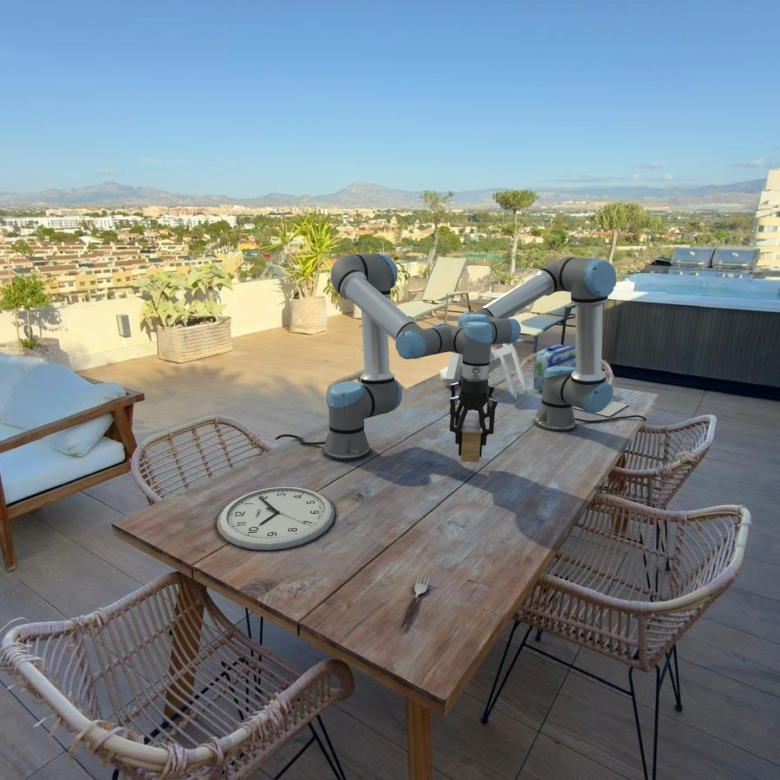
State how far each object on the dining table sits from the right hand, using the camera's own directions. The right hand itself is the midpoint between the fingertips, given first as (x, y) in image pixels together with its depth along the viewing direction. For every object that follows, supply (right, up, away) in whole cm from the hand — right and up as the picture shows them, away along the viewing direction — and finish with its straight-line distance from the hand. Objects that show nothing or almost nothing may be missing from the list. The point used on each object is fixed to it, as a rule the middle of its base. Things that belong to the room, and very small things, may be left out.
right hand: (468, 436), depth 166 cm
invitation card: (+66, +7, +60) cm, 90 cm away
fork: (-20, -29, -60) cm, 70 cm away
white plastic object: (+17, +13, +77) cm, 80 cm away
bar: (-1, -3, -6) cm, 7 cm away
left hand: (-2, -4, -13) cm, 14 cm away
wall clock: (-55, -19, -29) cm, 65 cm away
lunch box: (+53, +15, +84) cm, 100 cm away
